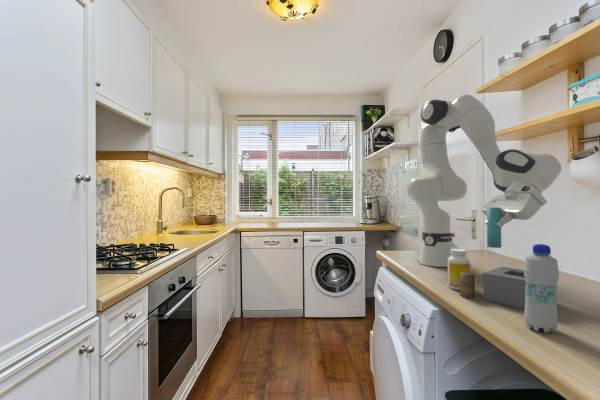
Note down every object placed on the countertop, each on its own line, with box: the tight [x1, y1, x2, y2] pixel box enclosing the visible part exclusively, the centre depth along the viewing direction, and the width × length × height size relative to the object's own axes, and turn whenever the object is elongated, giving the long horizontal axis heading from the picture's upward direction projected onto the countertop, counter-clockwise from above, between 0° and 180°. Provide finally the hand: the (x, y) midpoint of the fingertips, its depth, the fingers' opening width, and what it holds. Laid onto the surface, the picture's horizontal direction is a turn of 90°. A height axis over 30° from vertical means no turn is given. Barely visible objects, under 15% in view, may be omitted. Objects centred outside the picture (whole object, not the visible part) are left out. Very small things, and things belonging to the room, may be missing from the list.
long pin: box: [486, 207, 502, 249], centre depth 107 cm, size 4×4×13 cm
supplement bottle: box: [447, 248, 471, 291], centre depth 109 cm, size 7×7×13 cm
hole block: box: [482, 266, 526, 310], centre depth 96 cm, size 13×13×8 cm
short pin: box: [459, 272, 476, 299], centre depth 100 cm, size 4×4×7 cm
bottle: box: [523, 243, 560, 334], centre depth 76 cm, size 7×7×20 cm
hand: (492, 225), depth 107 cm, fingers closed on long pin, 4 cm apart
